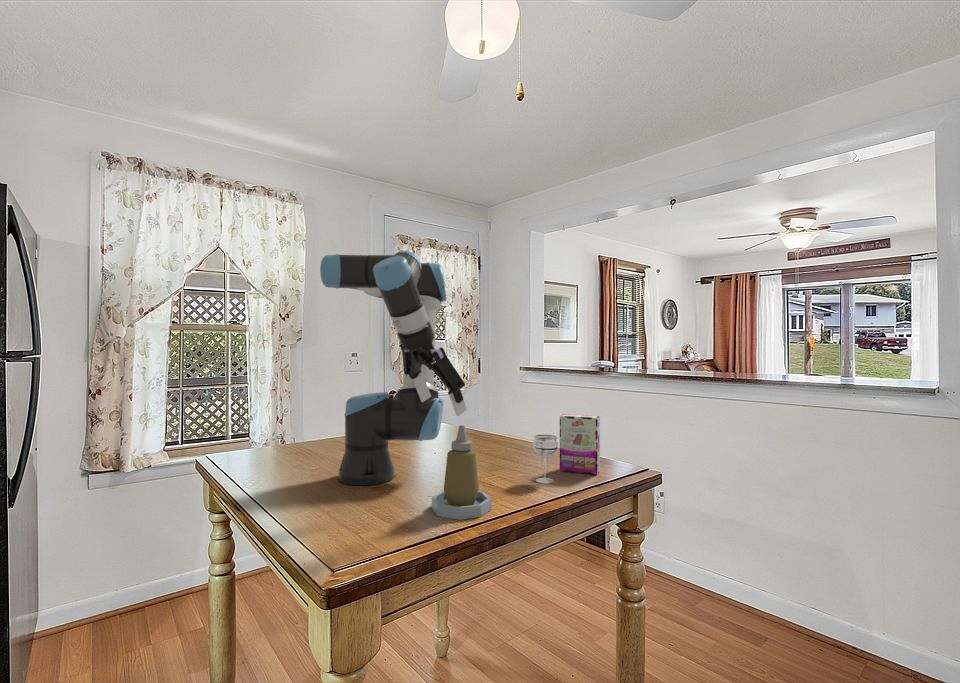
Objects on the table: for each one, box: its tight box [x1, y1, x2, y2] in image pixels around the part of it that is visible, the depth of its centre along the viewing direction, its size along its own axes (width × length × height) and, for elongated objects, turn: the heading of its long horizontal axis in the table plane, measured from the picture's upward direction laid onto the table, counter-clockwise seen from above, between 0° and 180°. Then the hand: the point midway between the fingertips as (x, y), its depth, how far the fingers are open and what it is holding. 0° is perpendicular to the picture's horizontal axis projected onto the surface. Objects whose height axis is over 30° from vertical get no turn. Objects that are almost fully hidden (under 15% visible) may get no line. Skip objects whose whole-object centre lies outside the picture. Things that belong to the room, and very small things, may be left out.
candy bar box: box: [559, 413, 601, 475], centre depth 145 cm, size 11×5×16 cm, turn 68°
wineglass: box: [532, 434, 559, 484], centre depth 135 cm, size 7×7×12 cm
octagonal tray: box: [431, 490, 492, 521], centre depth 113 cm, size 13×13×2 cm
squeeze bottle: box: [443, 424, 480, 507], centre depth 112 cm, size 8×8×18 cm
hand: (443, 405), depth 117 cm, fingers open, 13 cm apart
